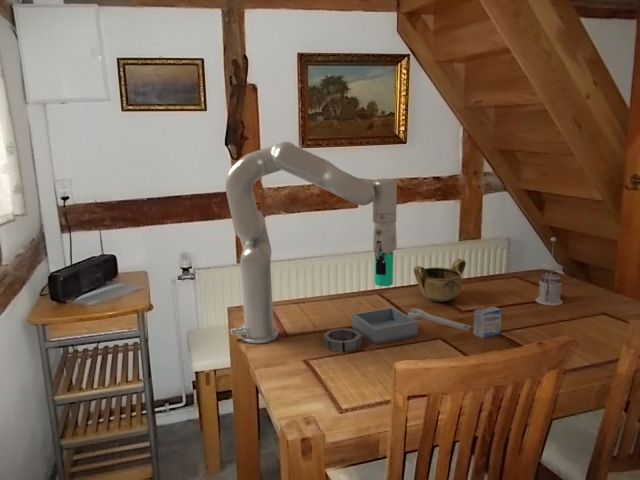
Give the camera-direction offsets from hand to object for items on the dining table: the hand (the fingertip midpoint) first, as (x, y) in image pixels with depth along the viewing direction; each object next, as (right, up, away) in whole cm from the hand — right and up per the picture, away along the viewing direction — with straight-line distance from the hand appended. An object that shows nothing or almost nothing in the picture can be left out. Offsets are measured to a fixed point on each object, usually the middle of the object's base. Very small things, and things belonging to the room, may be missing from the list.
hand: (384, 271), depth 184 cm
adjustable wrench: (+20, -19, +13) cm, 30 cm away
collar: (-14, -23, -5) cm, 27 cm away
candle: (0, -4, +1) cm, 4 cm away
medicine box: (+34, -21, +1) cm, 40 cm away
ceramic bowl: (+26, -13, +36) cm, 46 cm away
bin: (+1, -21, +5) cm, 21 cm away
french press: (+66, -14, +31) cm, 74 cm away
